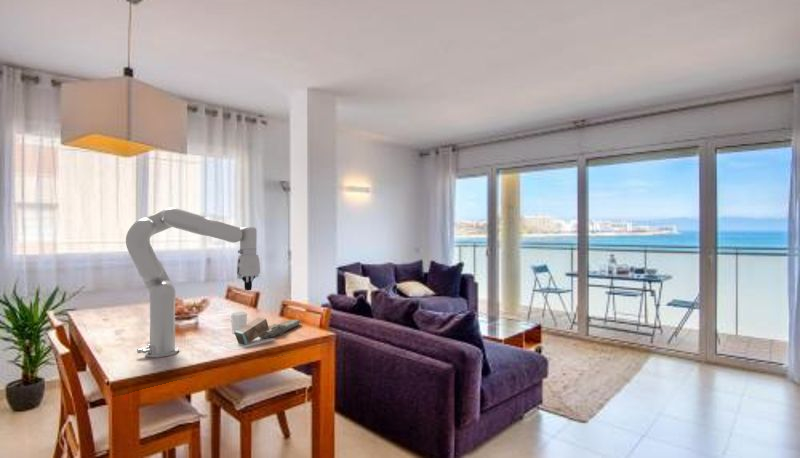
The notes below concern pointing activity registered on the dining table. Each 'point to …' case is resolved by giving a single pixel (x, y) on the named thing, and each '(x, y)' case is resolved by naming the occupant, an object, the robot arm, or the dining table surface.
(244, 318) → the white cup
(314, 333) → the dining table surface
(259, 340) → the mat
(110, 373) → the dining table surface
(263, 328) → the walnut block
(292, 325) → the long grey stone
